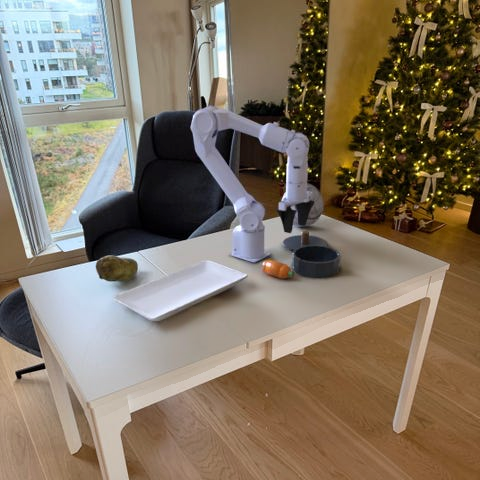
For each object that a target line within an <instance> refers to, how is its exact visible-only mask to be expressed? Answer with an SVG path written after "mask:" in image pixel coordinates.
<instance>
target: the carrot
mask: <svg viewBox="0 0 480 480" xmlns="http://www.w3.org/2000/svg"><path fill="white" fill-rule="evenodd" d="M261 268H262V271H263V273H265V274H267V275H269V276H272V277H276V278H279V279H281V280H282V279H284V280H285V279H288V278H289V277H291V278H293V277H294V275H295V272H294V270H291V267H290V266H289V265H288V264H287V263H283V262H279V261H277V260H276V261H275V260H273V259H267V260H265V261H264V262H263V263H262V266H261Z"/></svg>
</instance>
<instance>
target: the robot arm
mask: <svg viewBox="0 0 480 480" xmlns="http://www.w3.org/2000/svg"><path fill="white" fill-rule="evenodd" d="M228 129H231V130H234V131H237V132H239V133H243V134H246V135H249V136H252V137H255V138H258V139H259V141H260V144H261V145H262V146H264V147H267V148H270V149H272V150H274V151H277V152H280V153H282V154H285V153H286V155H287V163H286V184H285V185H286V187H285V192H286V197H285V198H284V199H283V200H282V199H281V201H279V202H278V207H276V212H277V214H278V216H279V218H280V221H281V224H282V229H283V232H284V233H286V234H292V232H293V228H294V227H293V226H294V225H293V220H294V217H295V214H296V212H297V213H298V224H299V225H302V226H305V225H306V222H307V219H308V215H309V213H310V210H311V208H312V207H313V205H314V201H312V200H310V199H312V192H309V191H307V183H308V171H309V164H308V161H309V157H308V153H309V150H310V141H309V138H308V137H307V136H306V135H305V134H303V132H296V130H294V129H291V130H289V129H287V128H284V127H281V126H280V125H279V123H278V122H276V121H273V123H272V122H268V123H266V124H264V125H263V124H260V123H258V122H255V121H253V120H251V119H249V118H247V117H244V116H242V115H240V114H237V113H235V112H234V111H230V110H228V109H225V108H222V107H220V108H218V107H217V106H215V105H207V106H206V107H204V108H201V109H197V111H195V113H194V114H193V115H192V120H191V125H190V130H191V132H192V137H193V144H194V150H195V153H196V154H197V157H199V159H200V160H201V162H202V163H203V164H204V166H205V167H206V169H207V170H208V171H209V173H210V174H211V175H212V177H213V178H214V179H215V181H216V182H217V184H218V185H219V187H220V188H221V190H222V191H223V192H224V194H225V195H226V196H227V198H228V199H229V201H230V202H231V204H232V205H233V209H234V213H235V215H236V216H237V217H238V222H239V224H238V225H237V226H235V227H234V229H233V231H232V238H231V239H232V253H231V254H230V255H231V256H232V257H235V258H238V259H242V260H244V261H247V262H251V263H257V262H259V261H261V260H263V259H265V258H268V257H269V256H271V253H270V252H266V251H265V231H266V230H265V228H266V226H265V225H264V223H263V220H264V218H265V215H266V209H265V206H264V205H263V204H262V203H260V202H259V201H257V200H256V199H255V198H254V196H252V194H251V195H250V194H249V193H248V192H247V190H246V189H245V188H244V186H243V185H242V183H241V182H240V180H239V179H238V178H237V176H236V175H235V174H234V172H233V171H232V169H231V167H230V166H229V165H228V164H227V162H226V160H225V159H224V157H223V156H222V155H221V153H220V152H219V149H217V148H216V142H217V137H218V133H219V131H220V132H221V131H224V130H228ZM294 205H296V207H297V210H292V208H291V206H294ZM305 227H306V226H305Z"/></svg>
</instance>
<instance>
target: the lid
mask: <svg viewBox="0 0 480 480" xmlns="http://www.w3.org/2000/svg"><path fill="white" fill-rule="evenodd" d="M308 245H319V246H326V247H328V241H327V240H326V239H324V238H322V237H320V236H315V235H310V231H308V230H303V231H301V234H298V235H297V234H296V235H292V236H288V237H286V238H285V239H283V241H282V246H283V247H284V248H285V249H287V250H289V251H292V252H294V250H295V249H297V248H299V247H303V246H308Z"/></svg>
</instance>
